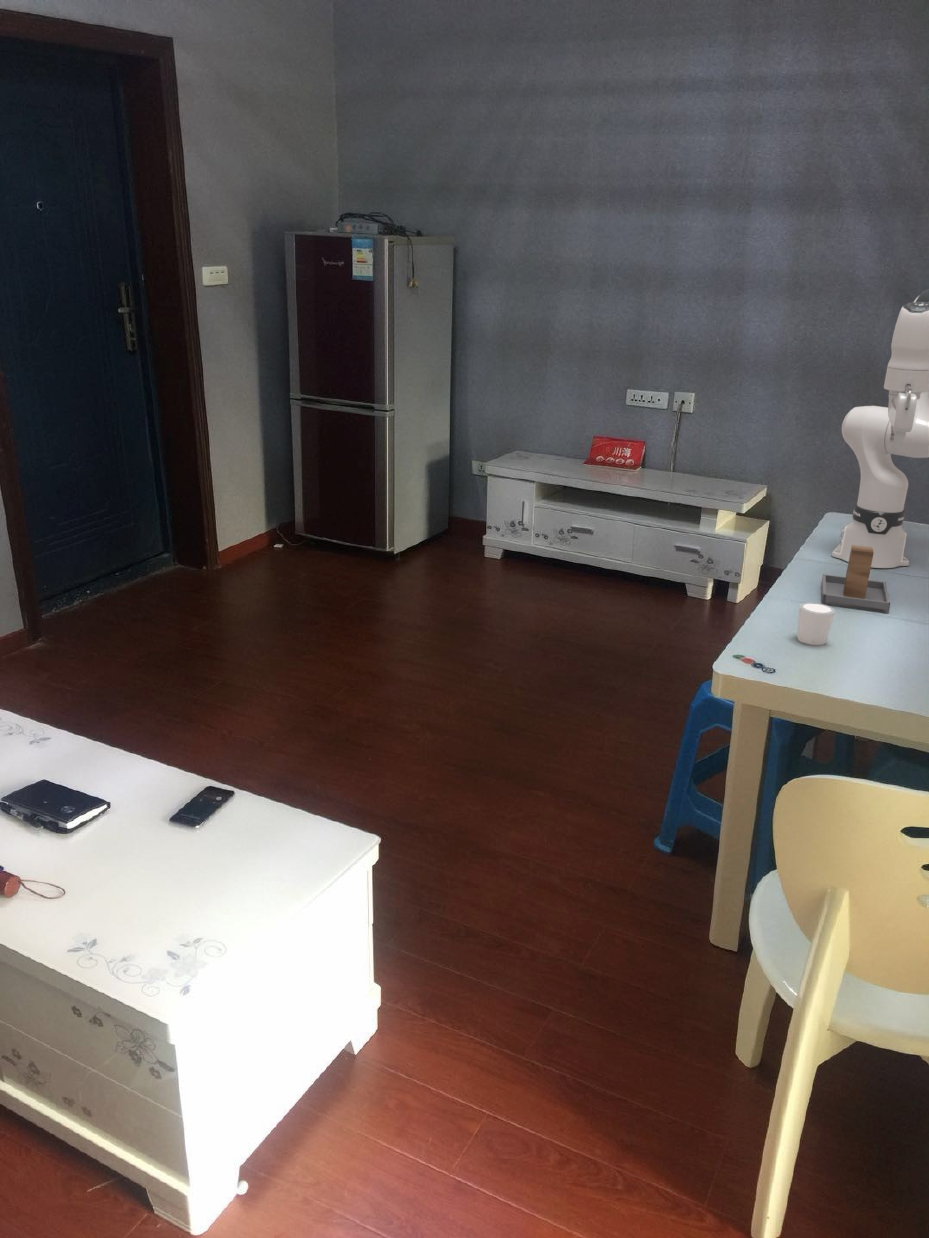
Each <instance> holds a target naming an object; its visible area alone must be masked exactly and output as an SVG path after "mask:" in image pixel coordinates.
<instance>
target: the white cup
mask: <svg viewBox="0 0 929 1238" xmlns="http://www.w3.org/2000/svg"><path fill="white" fill-rule="evenodd" d="M835 613H836V610H835V608H833V606H829V605H824V604H822V603H819V602H804V603H800V604H799V606H798V619H797V620H798V621H797V634H796V635H797V637H796V639H797V638H798V639H797V640H798V641H799V642H801V643H803V644H806V645H812V646H823V645H825V644H826V643H827V641H828V637H829V634H830V630H831V626H832V623H833V621H834V620H833V619H834V616H835Z"/></svg>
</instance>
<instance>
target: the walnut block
mask: <svg viewBox="0 0 929 1238" xmlns="http://www.w3.org/2000/svg"><path fill="white" fill-rule="evenodd" d="M873 554H874V552H873V547H864V546H856V545H852V546H851V551H850V557H849V562H847V568H846V573H845V574H846V575H845V577H846V578H845V584H844V589H843V594H844V596H845V597H853V598H860V599H865V595H866V590H867V585H868V580H870V574H871V568H872V567H871V564H872V559H873Z"/></svg>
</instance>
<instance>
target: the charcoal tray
mask: <svg viewBox="0 0 929 1238" xmlns="http://www.w3.org/2000/svg"><path fill="white" fill-rule="evenodd" d="M845 578H846V576H841V575H832V574H831V575H830V574H825V573H824V574H822V578H821V583H820V584H821V585H820V589H821V592H820V594H821V595H820V598H821V599H820V600H821V604H824V605H827V606H830V607H837V608H846V609H852V610H859V611H867V612H874V613H879V614H880V613H881V614H889V613H890V612H889V611H890V608H891V599H890V596H889V595H890V594H889V591H888V587H887V582H886V581H878V580H870V579H868V585H867V590H866V595H865V599H860V598H853V597H845V596H844V594H843V589H844V584H845Z"/></svg>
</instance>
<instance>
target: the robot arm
mask: <svg viewBox="0 0 929 1238" xmlns="http://www.w3.org/2000/svg"><path fill="white" fill-rule="evenodd" d="M898 313H899V314H898V316H897V320H896V322H895V327H894V331H893V333H892V339H891V344H890V349H891V356H890V359H889V361H888V363H887V367H886V373H885V378H884V385H883V389H884V390H887V391H888V404H887V405H888V406H887V407H886V406H879V405H864V406H855V407H853V408H852V409H850V410H849V411H848V413H846V415H845V416H844V419H843V421H842V423H841V435H842V437H843V440H844V442H845V443H846V444H847V445H848V446H849V447H850V448H851V450H852V451H853V453H854V455H855V456H856V459H857V461H858V465H859V470H860V481H859V491H858V495H857V503H856V504H855V505H854V508H853V511H852V512H853V513H852V521H850V523H848V524H847V525H846V526H845V527H843V528H841V531H840V537H841V538H842V539H840V542H839V543H837V546H836V547H835V548H834V549H833V551H832V552H831V553H830V554H831V557H833V558H837V559H840V560H843V561H845V562H847V563H848V562H849V557H850V551H851V546H852V545H856V546H864V547H873V552H874V554H873V559H872V564H871V568H875V569H894V568H897V567H905V566H910V561H909V559H908V558H906V557H905V556H904V551H905V546H906V540H907V532H906V531H905V529H904V528H903V527H902V525H903V523H904V519H905V510H904V508H905V503H906V498H907V493H908V489H909V480H908V478H907V476H906V474H905V473H904V472H903V471H901V470H900V469H899V468H898V467H897V466H896V465H895V464H894V463H893V460H892V455H896V456H901V457H902V456H903V457H908V458H909V457H910V458H915V459H927V458H929V288H928V289H925V290H923V291H922V292H921V293H920V294H919V295H918V296H917V297H916V298H915V299H914V301H913V302H909V303H906V304H903V306H901V309H900V311H899V312H898Z"/></svg>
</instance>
